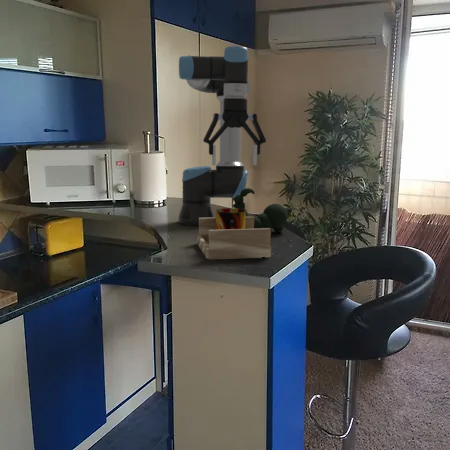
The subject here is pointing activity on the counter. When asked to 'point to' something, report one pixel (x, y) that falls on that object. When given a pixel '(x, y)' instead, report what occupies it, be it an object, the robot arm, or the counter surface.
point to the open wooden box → (233, 240)
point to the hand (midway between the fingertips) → (234, 165)
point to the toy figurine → (265, 213)
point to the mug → (230, 218)
